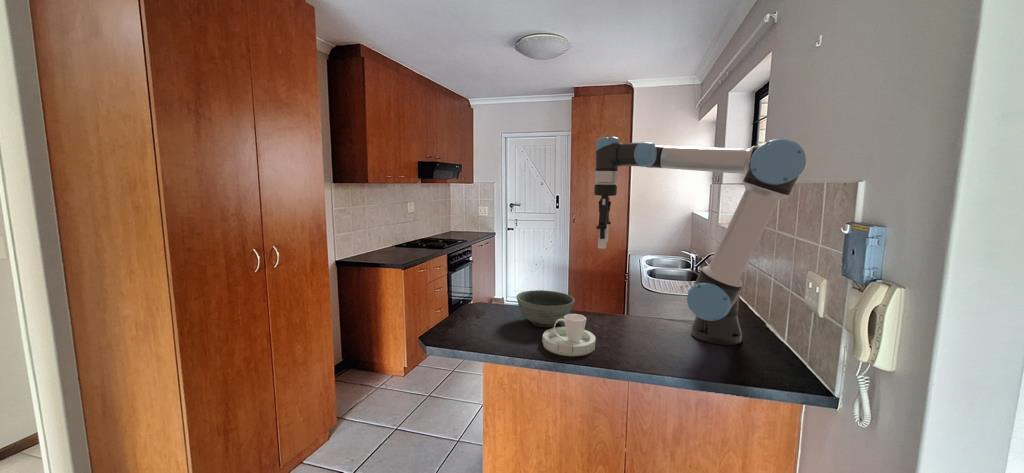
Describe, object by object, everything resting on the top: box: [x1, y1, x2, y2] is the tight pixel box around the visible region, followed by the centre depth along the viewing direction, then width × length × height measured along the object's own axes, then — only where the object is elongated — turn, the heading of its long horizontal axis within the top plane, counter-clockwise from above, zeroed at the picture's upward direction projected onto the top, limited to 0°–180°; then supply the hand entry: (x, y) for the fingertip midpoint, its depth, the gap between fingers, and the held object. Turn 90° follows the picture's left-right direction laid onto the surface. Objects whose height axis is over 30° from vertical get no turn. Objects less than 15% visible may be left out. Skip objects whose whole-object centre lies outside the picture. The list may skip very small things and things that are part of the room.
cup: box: [553, 313, 587, 345], centre depth 127 cm, size 7×10×8 cm
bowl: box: [515, 289, 576, 328], centre depth 146 cm, size 21×21×10 cm
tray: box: [542, 326, 597, 357], centre depth 127 cm, size 16×16×3 cm
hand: (603, 245), depth 142 cm, fingers open, 13 cm apart
